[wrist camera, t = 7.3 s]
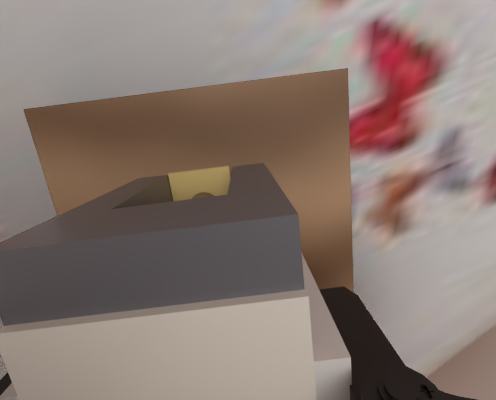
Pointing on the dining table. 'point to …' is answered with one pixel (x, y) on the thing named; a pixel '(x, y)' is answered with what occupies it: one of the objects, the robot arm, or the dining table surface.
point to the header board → (215, 151)
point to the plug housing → (161, 297)
